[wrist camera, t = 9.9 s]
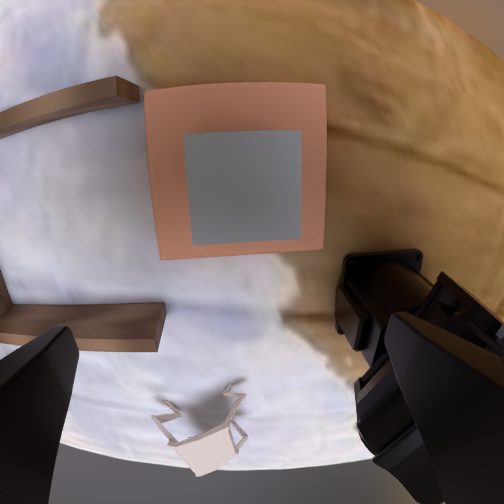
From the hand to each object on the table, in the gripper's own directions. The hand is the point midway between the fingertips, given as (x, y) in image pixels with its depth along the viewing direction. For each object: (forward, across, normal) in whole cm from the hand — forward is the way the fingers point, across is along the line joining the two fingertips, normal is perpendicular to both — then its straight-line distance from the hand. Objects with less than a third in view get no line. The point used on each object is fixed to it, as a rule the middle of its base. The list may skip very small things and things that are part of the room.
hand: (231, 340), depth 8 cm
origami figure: (+12, +3, +19) cm, 23 cm away
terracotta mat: (+12, -1, -3) cm, 12 cm away
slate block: (+11, -1, -3) cm, 11 cm away
